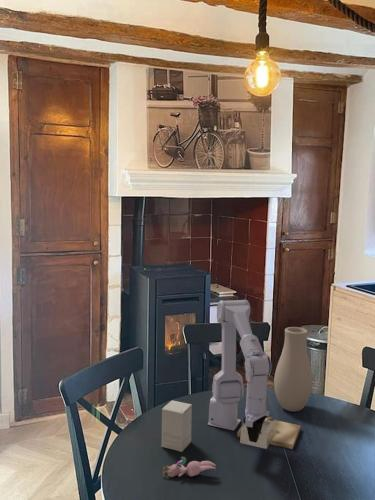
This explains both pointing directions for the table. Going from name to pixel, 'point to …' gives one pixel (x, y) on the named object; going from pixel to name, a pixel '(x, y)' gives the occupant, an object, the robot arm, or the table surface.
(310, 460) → the table surface
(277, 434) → the board
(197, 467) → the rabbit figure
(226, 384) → the robot arm
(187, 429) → the supplement box
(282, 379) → the vase
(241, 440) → the beige hollow boxy piece
